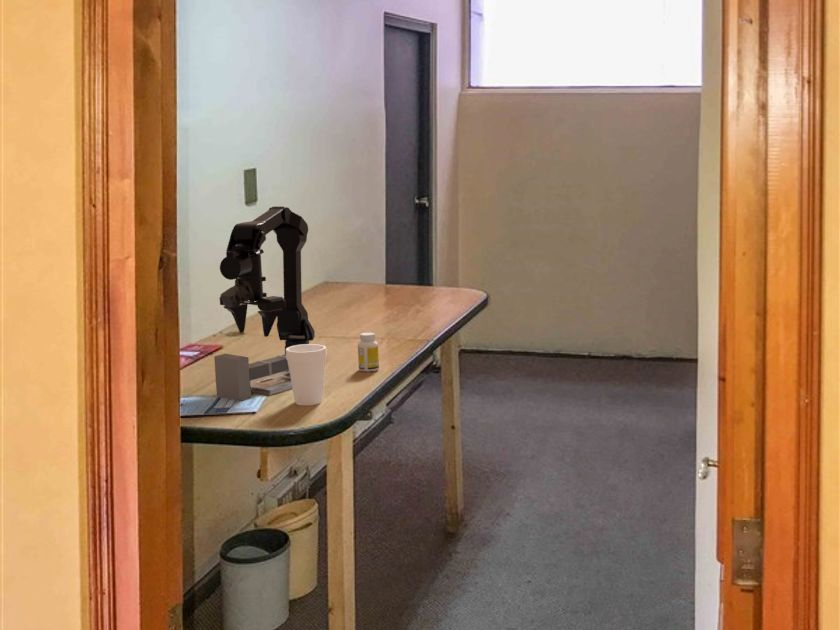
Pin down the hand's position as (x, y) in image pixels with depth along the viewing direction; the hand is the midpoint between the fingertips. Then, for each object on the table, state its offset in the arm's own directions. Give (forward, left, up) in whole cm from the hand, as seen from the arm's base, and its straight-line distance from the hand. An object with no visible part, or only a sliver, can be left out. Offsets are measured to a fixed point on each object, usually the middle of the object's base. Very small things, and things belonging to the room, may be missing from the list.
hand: (254, 334), depth 265 cm
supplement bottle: (-26, +16, -13) cm, 33 cm away
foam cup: (+7, +25, -13) cm, 29 cm away
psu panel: (-2, +6, -13) cm, 14 cm away
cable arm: (0, +6, -12) cm, 14 cm away
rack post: (+14, +6, -13) cm, 19 cm away
